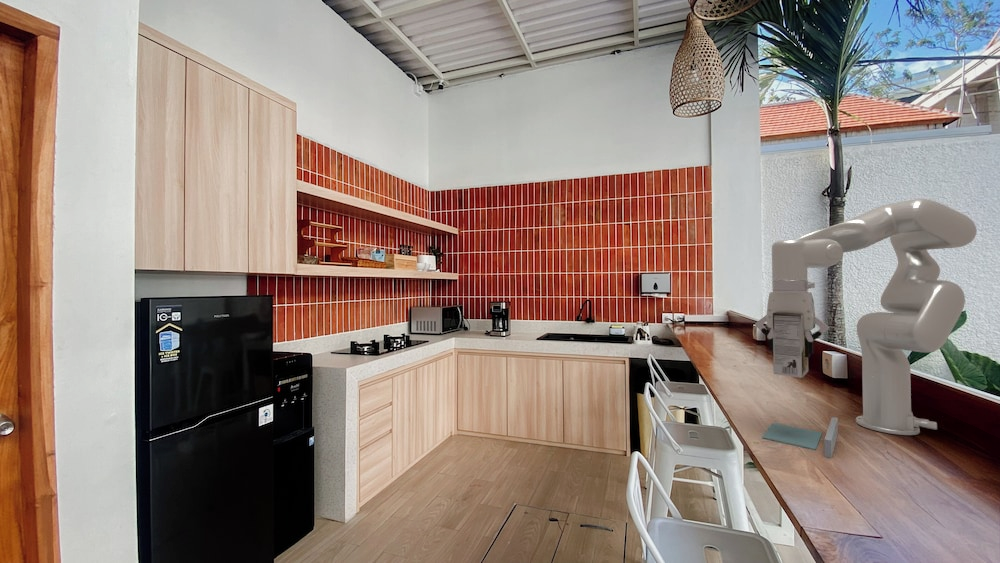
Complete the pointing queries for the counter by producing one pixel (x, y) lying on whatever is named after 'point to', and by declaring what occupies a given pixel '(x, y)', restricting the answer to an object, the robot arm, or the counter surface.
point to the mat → (793, 436)
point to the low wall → (831, 437)
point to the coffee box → (789, 345)
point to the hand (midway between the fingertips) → (790, 354)
